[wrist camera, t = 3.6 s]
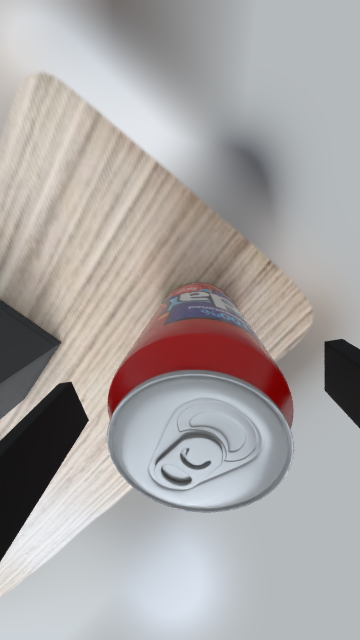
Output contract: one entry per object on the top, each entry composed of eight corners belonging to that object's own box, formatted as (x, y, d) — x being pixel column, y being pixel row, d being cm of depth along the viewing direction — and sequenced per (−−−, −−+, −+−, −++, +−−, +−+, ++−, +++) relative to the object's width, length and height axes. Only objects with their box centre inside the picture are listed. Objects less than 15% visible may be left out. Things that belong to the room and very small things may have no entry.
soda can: (146, 324, 22) (50, 460, 8) (190, 264, 19) (170, 300, 5) (203, 365, 23) (212, 550, 9) (252, 312, 20) (374, 450, 6)
